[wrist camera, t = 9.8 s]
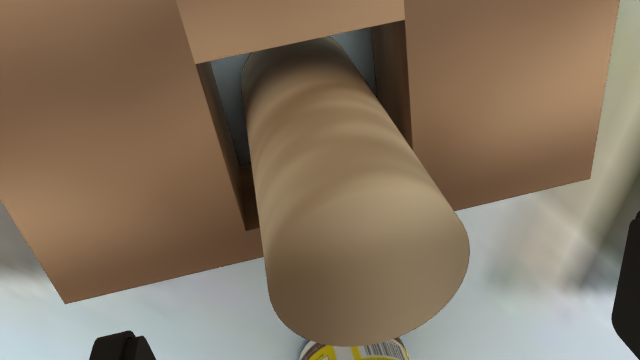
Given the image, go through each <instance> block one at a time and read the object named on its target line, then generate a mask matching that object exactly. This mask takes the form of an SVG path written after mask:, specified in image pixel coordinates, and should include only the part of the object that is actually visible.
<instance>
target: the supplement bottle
mask: <svg viewBox="0 0 640 360" xmlns="http://www.w3.org/2000/svg"><path fill="white" fill-rule="evenodd" d="M299 360H409V357H408V355H407V353H406V350H405V347H404V345H403V343H402V341H401V339H400V338H399V337H396V338H394V339H391V340H388V341H384V342H381V343H377V344H372V345H366V346H357V347H339V346H330V345H324V344H320V343H317V342H313V341H311V340H310V341H309V342H308V344H307V345H306V346H305V347H304V349H303V351H302V353H301V355H300V357H299Z"/></svg>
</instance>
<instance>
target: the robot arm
mask: <svg viewBox="0 0 640 360" xmlns="http://www.w3.org/2000/svg"><path fill="white" fill-rule="evenodd" d="M612 324H613V327H614V329H615V331H616V333H617V334H618V336H619V337H620V338H621V339H622V340H623V342H624V343H625V344H626V345H627V346H628V347H629V349H630V350H631V351H632V352H633V353H634V354H635V356H636V357H637V358H638V359H639V360H640V211H639V212H638V213H637V215H636V218H635V219H634V220H632V221H631V223H630V226H629V231H628V236H627V241H626V246H625V251H624V256H623V261H622V266H621V271H620V276H619V281H618V286H617V291H616V296H615V302H614V307H613V312H612ZM89 360H156V358H155V356H154V354H153V352H152V350H151V348H150V346H149V344H148V342H147V340H146V339H145V337H144V336H139V337H136V336H135V335H134V333H133V332H131V331H125V332H121V333H117V334H112V335H108V336H104V337H100V338H97V339H96V340H95V342H94V345H93V348H92V352H91V355H90V359H89Z"/></svg>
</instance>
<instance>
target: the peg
mask: <svg viewBox="0 0 640 360" xmlns="http://www.w3.org/2000/svg"><path fill="white" fill-rule="evenodd" d="M241 89H242V97H243V104H244V112H245V119H246V127H247V134H248V142H249V149H250V157H251V164H252V172H253V179H254V186H255V194H256V201H257V209H258V216H259V224H260V231H261V239H262V246H263V254H264V261H265V269H266V276H267V284H268V291H269V296H270V301H271V303H272V306H273V308H274V311H275V312H276V314H277V315H278V317H279V318H280V320H281V321H282V322H283V323H284V324H285V325H286V326H287V327H288V328H290V329H291V330H292V331H293V332H295V333H296V334H298V335H300V336H302V337H304V338H306V339H308V340H311V341H313V342H317V343H320V344H324V345H330V346H339V347H357V346H366V345H372V344H377V343H381V342H384V341H388V340H391V339H394V338H396V337H399V336H401V335H404V334H406V333H408V332H410V331H412V330H414V329H416V328H417V327H419V326H421V325H422V324H424V323H425V322H427V321H428V320H429V319H431V318H432V317H433V316H435V315H436V314H437V313H438V312H439V311H440V310H441V309H443V307H444V306H445V305H446V304H447V303H448V302H449V301H450V300H451V298H452V297H453V296H454V294H455V293H456V292H457V290H458V288H459V287H460V285H461V283H462V281H463V279H464V276H465V274H466V271H467V267H468V263H469V256H470V247H469V240H468V236H467V232H466V230H465V228H464V226H463V224H462V222H461V221H460V219H459V218H458V216H457V215H456V213H455V212H454V210H453V209H452V207H451V206H450V205H449V203H448V202H447V200H446V199H445V197H444V196H443V194H442V193H441V191H440V190H439V188H438V187H437V186H436V184H435V183H434V181H433V180H432V178H431V177H430V175H429V174H428V172H427V171H426V169H425V168H424V167H423V165H422V164H421V162H420V161H419V159H418V158H417V156H416V155H415V153H414V152H413V150H412V149H411V148H410V146H409V145H408V143H407V142H406V140H405V139H404V137H403V136H402V134H401V133H400V131H399V130H398V129H397V127H396V126H395V124H394V123H393V121H392V120H391V118H390V117H389V115H388V114H387V112H386V111H385V110H384V108H383V107H382V105H381V104H380V102H379V101H378V99H377V98H376V96H375V95H374V94H373V92H372V91H371V89H370V88H369V86H368V85H367V83H366V82H365V80H364V79H363V77H362V76H361V75H360V73H359V72H358V70H357V69H356V67H355V66H354V64H353V63H352V61H351V60H350V58H349V57H348V56H347V54H346V53H345V51H344V50H343V48H342V47H341V46H340V45H339V44H338V43H337V42H336V41H335V40H334V39H332V38H331V37H330V36H325V37H320V38H316V39H311V40H306V41H302V42H297V43H292V44H287V45H283V46H278V47H273V48H269V49H264V50H259V51H254V52H252V53H251V54H250V56H249V57H248V59H247V61H246V63H245V66H244V69H243V73H242V80H241Z"/></svg>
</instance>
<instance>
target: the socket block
mask: <svg viewBox="0 0 640 360" xmlns="http://www.w3.org/2000/svg"><path fill="white" fill-rule="evenodd" d="M619 2H620V0H0V200H1V201H2V203H3V205H4V206H5V208H6V210H7V211H8V213H9V214H10V216H11V218H12V219H13V221H14V222H15V224H16V226H17V227H18V229H19V231H20V232H21V234H22V235H23V237H24V239H25V240H26V242H27V244H28V245H29V247H30V248H31V250H32V252H33V253H34V255H35V256H36V258H37V260H38V261H39V263H40V265H41V266H42V268H43V269H44V271H45V273H46V274H47V276H48V277H49V279H50V281H51V282H52V284H53V286H54V287H55V289H56V290H57V292H58V294H59V295H60V297H61V298H62V300H63V302H64V303H65V304H68V303H72V302H77V301H81V300H85V299H89V298H93V297H97V296H102V295H106V294H110V293H114V292H118V291H123V290H127V289H131V288H135V287H139V286H143V285H148V284H152V283H156V282H160V281H164V280H169V279H173V278H177V277H181V276H185V275H189V274H194V273H198V272H202V271H206V270H210V269H215V268H219V267H223V266H227V265H231V264H236V263H240V262H244V261H248V260H252V259H256V258H261V257H264V254H263V246H262V239H261V231H260V224H259V216H258V209H257V201H256V194H255V186H254V179H253V172H252V165H248V166H243V167H239V163H238V160H237V156H236V153H235V149H234V146H233V142H232V139H231V135H230V132H229V128H228V125H227V121H226V118H225V114H224V111H223V107H222V104H221V100H220V97H219V93H218V90H217V86H216V83H215V79H214V76H213V72H212V69H211V65H210V62H209V61H212V60H217V59H221V58H226V57H231V56H236V55H240V54H245V53H250V52H254V51H259V50H264V49H269V48H273V47H278V46H283V45H287V44H292V43H297V42H302V41H306V40H311V39H316V38H320V37H325V36H330V35H335V34H339V33H344V32H349V31H353V30H358V29H363V28H368V27H371V36H372V46H373V56H374V66H375V77H376V87H377V97H378V101H379V102H380V104H381V105H382V107H383V108H384V110H385V111H386V112H387V114H388V115H389V117H390V118H391V120H392V121H393V123H394V124H395V126H396V127H397V129H398V130H399V131H400V133H401V134H402V136H403V137H404V139H405V140H406V142H407V143H408V145H409V146H410V148H411V149H412V150H413V152H414V153H415V155H416V156H417V158H418V159H419V161H420V162H421V164H422V165H423V167H424V168H425V169H426V171H427V172H428V174H429V175H430V177H431V178H432V180H433V181H434V183H435V184H436V186H437V187H438V188H439V190H440V191H441V193H442V194H443V196H444V197H445V199H446V200H447V202H448V203H449V205H450V206H451V207H452V209H453V210H454V211H457V210H461V209H466V208H470V207H474V206H478V205H482V204H487V203H491V202H495V201H499V200H503V199H507V198H512V197H516V196H520V195H524V194H528V193H533V192H537V191H541V190H545V189H549V188H554V187H558V186H562V185H566V184H570V183H574V182H579V181H583V180H587V179H590V176H591V170H592V164H593V158H594V152H595V146H596V140H597V134H598V128H599V122H600V116H601V110H602V104H603V98H604V92H605V86H606V80H607V74H608V68H609V62H610V56H611V50H612V44H613V38H614V32H615V26H616V20H617V14H618V8H619Z"/></svg>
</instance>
